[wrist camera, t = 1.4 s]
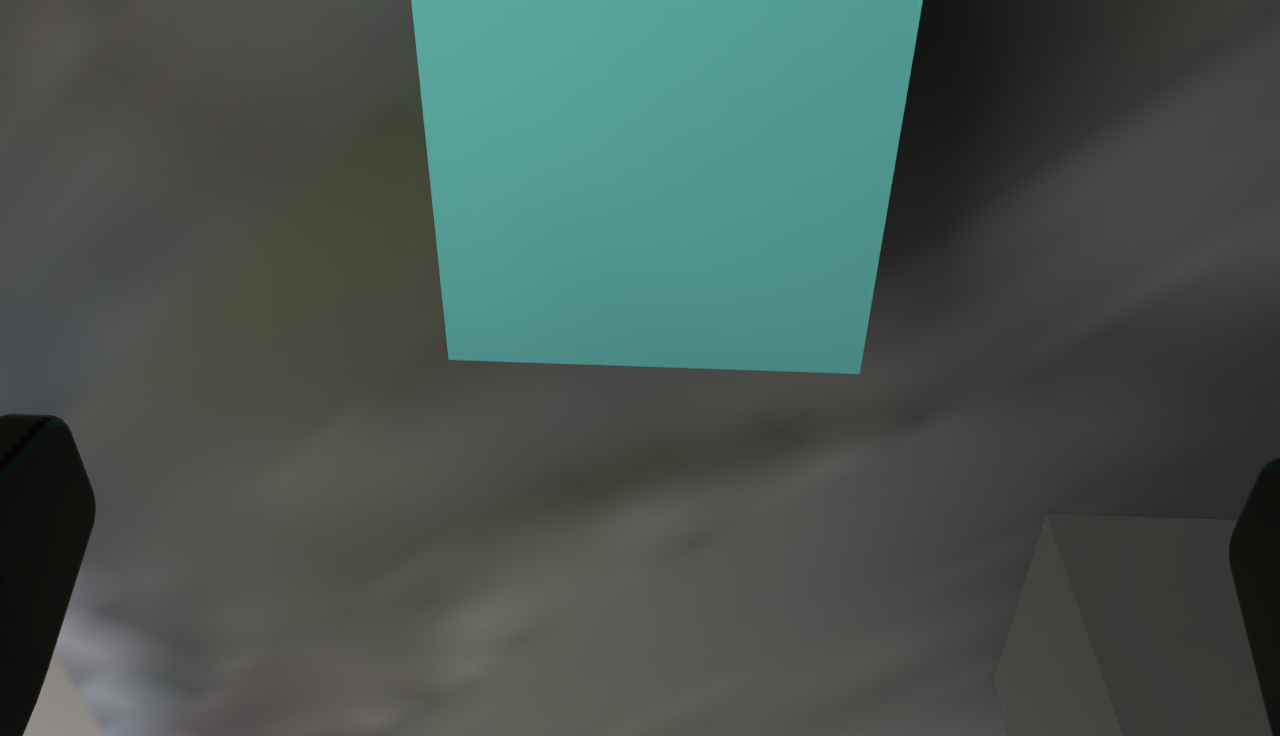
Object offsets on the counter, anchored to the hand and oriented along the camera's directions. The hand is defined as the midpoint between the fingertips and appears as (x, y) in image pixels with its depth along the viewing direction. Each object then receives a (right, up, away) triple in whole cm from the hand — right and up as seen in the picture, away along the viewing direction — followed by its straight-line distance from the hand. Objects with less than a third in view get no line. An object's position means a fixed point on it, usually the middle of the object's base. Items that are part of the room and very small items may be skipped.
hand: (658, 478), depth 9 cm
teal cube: (0, +6, +8) cm, 10 cm away
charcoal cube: (+10, -4, +15) cm, 18 cm away
